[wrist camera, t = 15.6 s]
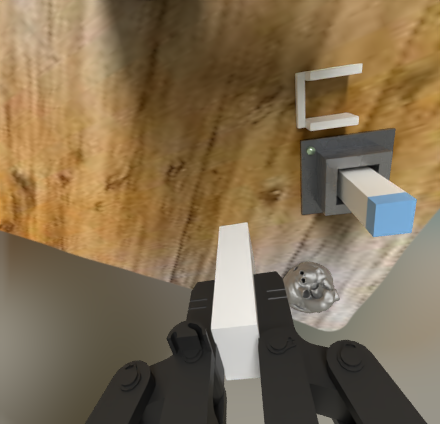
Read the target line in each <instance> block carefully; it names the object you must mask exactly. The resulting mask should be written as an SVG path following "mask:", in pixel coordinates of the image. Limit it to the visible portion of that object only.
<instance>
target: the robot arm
mask: <svg viewBox="0 0 440 424" xmlns="http://www.w3.org/2000/svg"><path fill="white" fill-rule="evenodd" d="M167 341H168V343H169V346H170V348H171V350H172V352H173V355H172V356H170V357H169V358H167V359H165V360H163V361H161V362H159V363H156V364H154V365H151V366H148V365H147V363H145V362H143V361H132V362H130V363H127V364H126V365H124V366H123V367H122V368H120V369H119V370H118V371H117V373H116V374H115V375H114V376H113V378H112V380H111V382H110V383H109V385H108V386H107V388H106V390H105V391H104V393H103V395H102V397H101V398H100V400H99V401H98V403H97V405H96V406H95V408H94V410H93V412H92V413H91V415H90V416H89V418H88V420H87V421H86V423H85V424H226V404H227V397H226V391H225V388H224V374H225V377H226V380H238V379H250V378H261V387H262V399H263V410H264V422H265V424H319V423H318V419H317V415H316V414H320V415H323V416H326V417H330V418H332V420H333V422H334V424H427V423H426V422H425V421H424V419H423V418H422V417H421V415H420V414H419V413H418V411H417V410H416V409H415V408H414V406H413V405H412V404H411V402H410V401H409V400H408V399H407V397H406V396H405V395H404V394H403V392H402V391H401V390H400V388H399V387H398V386H397V385H396V383H395V382H394V381H393V380H392V378H391V377H390V376H389V374H388V373H387V372H386V371H385V369H384V368H383V367H382V366H381V364H380V363H379V362H378V360H377V359H376V358H375V357H374V355H373V354H372V353H371V352H370V351H369V350H368V349H367V348H366V347H365V346H363V345H361V344H359V343H357V342H355V341H350V340H341V341H337V342H335V343H333V344H332V345H331V346H330V347H329V348H328V347H323V346H318V345H314V344H311V343H309V342H307V341H305V340H304V339H302V338H301V337H300V336H299V335H298V333H297V332H296V330H295V328H294V325H293V320H292V315H291V311H290V307H289V303H288V299H287V294H286V290H285V286H284V282H283V278H282V277H281V276H280V275H279V274H278V273H277V272H268V273H260V274H256V270H255V262H254V256H253V251H252V245H251V240H250V234H249V228H248V223H247V222H246V223H240V224H233V225H226V226H220V227H219V239H218V250H217V262H216V274H215V280H211V281H204V282H198V283H197V284H196V285H195V287H194V288H193V290H192V292H191V298H190V303H189V310H188V314H187V320H186V321H184V322H181V323H179V324H178V325H176V326H175V327H174V328H173V329H172V330H171V331H170V333H169V334H168V337H167Z"/></svg>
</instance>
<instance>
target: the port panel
mask: <svg viewBox="0 0 440 424" xmlns="http://www.w3.org/2000/svg"><path fill="white" fill-rule="evenodd" d="M394 137H395V128H389V129H382V130H374V131H367V132H359V133H352V134H344V135H337V136H330V137H322V138H315V139H307V140H300V157H301V209H302V215H305V214H314V213H324V215H325V216H327V215H336V214H346V213H352V212H351V211H350V210H349V208H348V207H347V206H346V205H345V204H344V203H343V202H342V200H341V199H340V198H339V197H338V196H337V171H338V169H342V168H350V167H359V166H368V167H370V168H371V169H373V170H374V171H375V172H377V173H378V174H380V175H381V176H383V177H384V178H386V179H387V180H389V178H390V170H391V162H392V154H393V144H394Z"/></svg>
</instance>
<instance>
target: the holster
mask: <svg viewBox="0 0 440 424" xmlns="http://www.w3.org/2000/svg"><path fill="white" fill-rule="evenodd" d="M358 73H362V63H361V64H350V65H343V66H337V67H331V68H324V69H318V70H312V71H305V72H299V73H295V91H296V127H297V128H305V127H306V128H307V129H308V130H310V131H315V130H322V129H330V128H337V127H344V126H351V125H358V121H359V116H356V115H353V114H350V113H341V114H334V115H327V116H320V117H313V118H306V119H305V80H307V81H312V80H319V79H325V78H332V77H338V76H345V75H351V74H358Z"/></svg>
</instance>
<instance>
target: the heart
mask: <svg viewBox="0 0 440 424" xmlns="http://www.w3.org/2000/svg"><path fill="white" fill-rule="evenodd" d="M283 282H284V286H285V290H286V294H287V299H288V303H289V306H290V307H292V308H294V309H296V310H298V311H301V312H305V313H315V312H317V313H320V312H322V311H326V310H327V309H329V308H330V307H331V306H332V304H333V303H334V302H335V301H338V300H340V298H339V295H338V293H337V291H336V289H334V285H333V278H332V276H331V273H330V271H329V270H328V269H327V268H325V267H324V266H322V265H320V264H317V263H313V262H304V263H301V264H299V265H298V266H296V267H293V268H292V269H291V270H290V271H289V272H288V273H287V274H286V276H285V277H284V279H283Z"/></svg>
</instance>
